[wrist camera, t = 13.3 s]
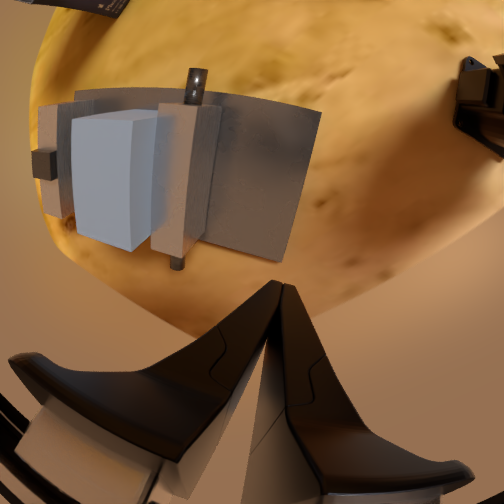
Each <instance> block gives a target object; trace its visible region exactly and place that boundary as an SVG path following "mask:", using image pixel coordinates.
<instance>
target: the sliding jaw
mask: <svg viewBox="0 0 504 504" xmlns="http://www.w3.org/2000/svg"><path fill="white" fill-rule="evenodd" d="M207 74H208V70H207V69H200V68H189V72H188V77H187V83H186V89H185V95H184V101H183V103H159V107H158V115H157V124H156V134H155V144H154V156H153V171H152V191H151V249H153V250H156V251H159V252H162V253H165V254H169V255H170V268H171V269H173V270H176V271H180V270H183V269H184V268H185V254H186V253H187V252H188V251H189V249H190V248H191V247H192V246H193V245H194V244H195V242H196V241H197V240H198V239H199V238H200V236H201V235H202V234H203V233H204V232H205V225H206V217H207V209H208V201H209V193H210V186H211V179H212V171H213V165H214V158H215V151H216V145H217V138H218V132H219V126H220V120H221V115H222V109H223V106H216V105H208V104H202V102H203V96H204V90H205V85H206V79H207Z"/></svg>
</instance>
